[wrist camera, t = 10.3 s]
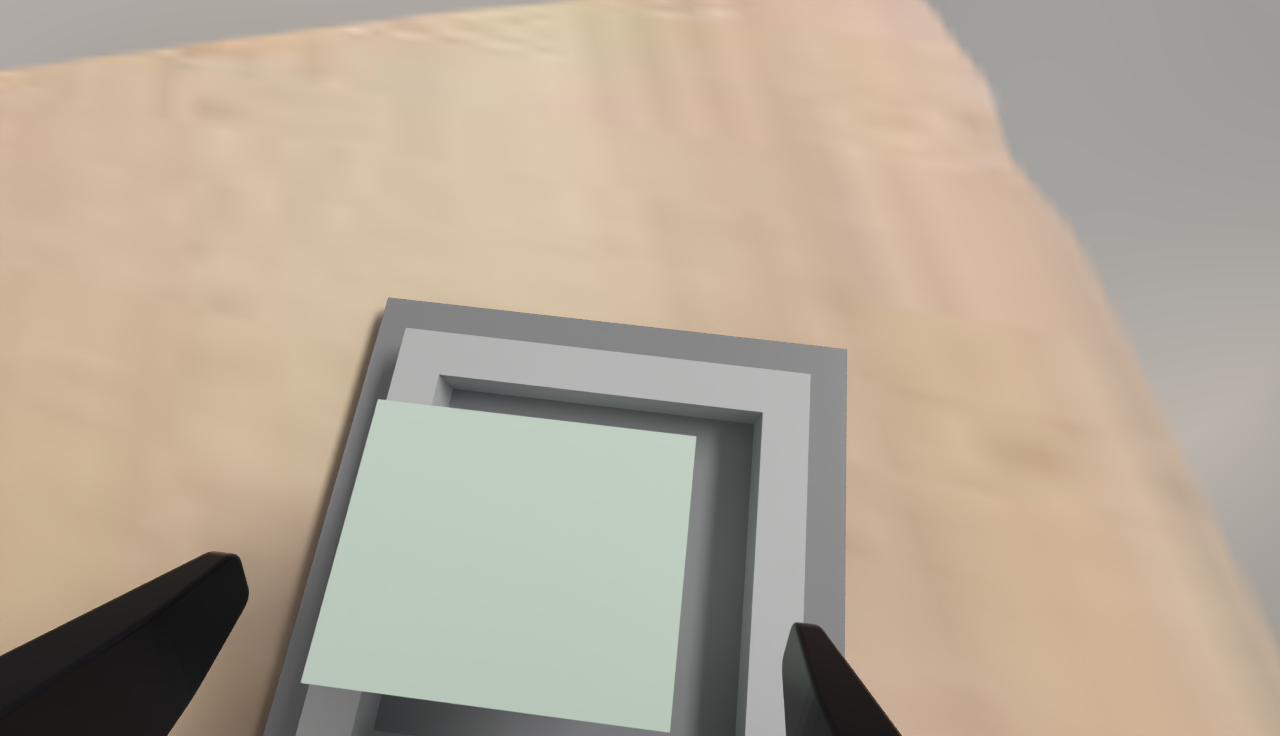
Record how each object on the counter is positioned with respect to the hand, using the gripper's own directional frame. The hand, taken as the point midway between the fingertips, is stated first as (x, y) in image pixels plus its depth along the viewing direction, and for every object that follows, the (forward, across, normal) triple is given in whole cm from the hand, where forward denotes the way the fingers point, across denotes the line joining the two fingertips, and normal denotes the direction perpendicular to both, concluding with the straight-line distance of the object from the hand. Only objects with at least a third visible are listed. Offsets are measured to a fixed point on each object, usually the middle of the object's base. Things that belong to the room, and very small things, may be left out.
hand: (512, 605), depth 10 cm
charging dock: (+7, 0, +6) cm, 10 cm away
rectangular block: (+7, 0, +6) cm, 9 cm away
